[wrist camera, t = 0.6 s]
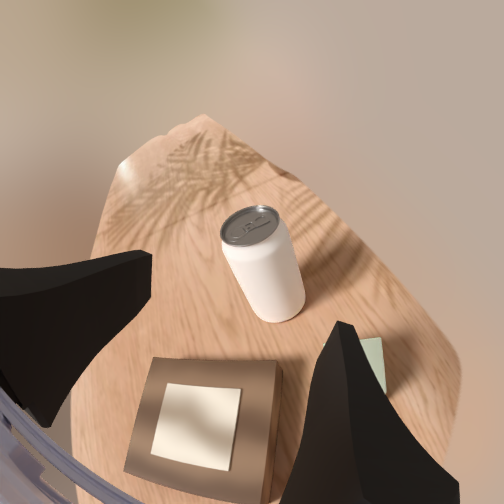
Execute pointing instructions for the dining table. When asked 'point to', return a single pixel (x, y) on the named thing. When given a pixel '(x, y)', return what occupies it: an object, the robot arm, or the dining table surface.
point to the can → (264, 262)
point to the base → (208, 428)
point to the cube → (375, 358)
